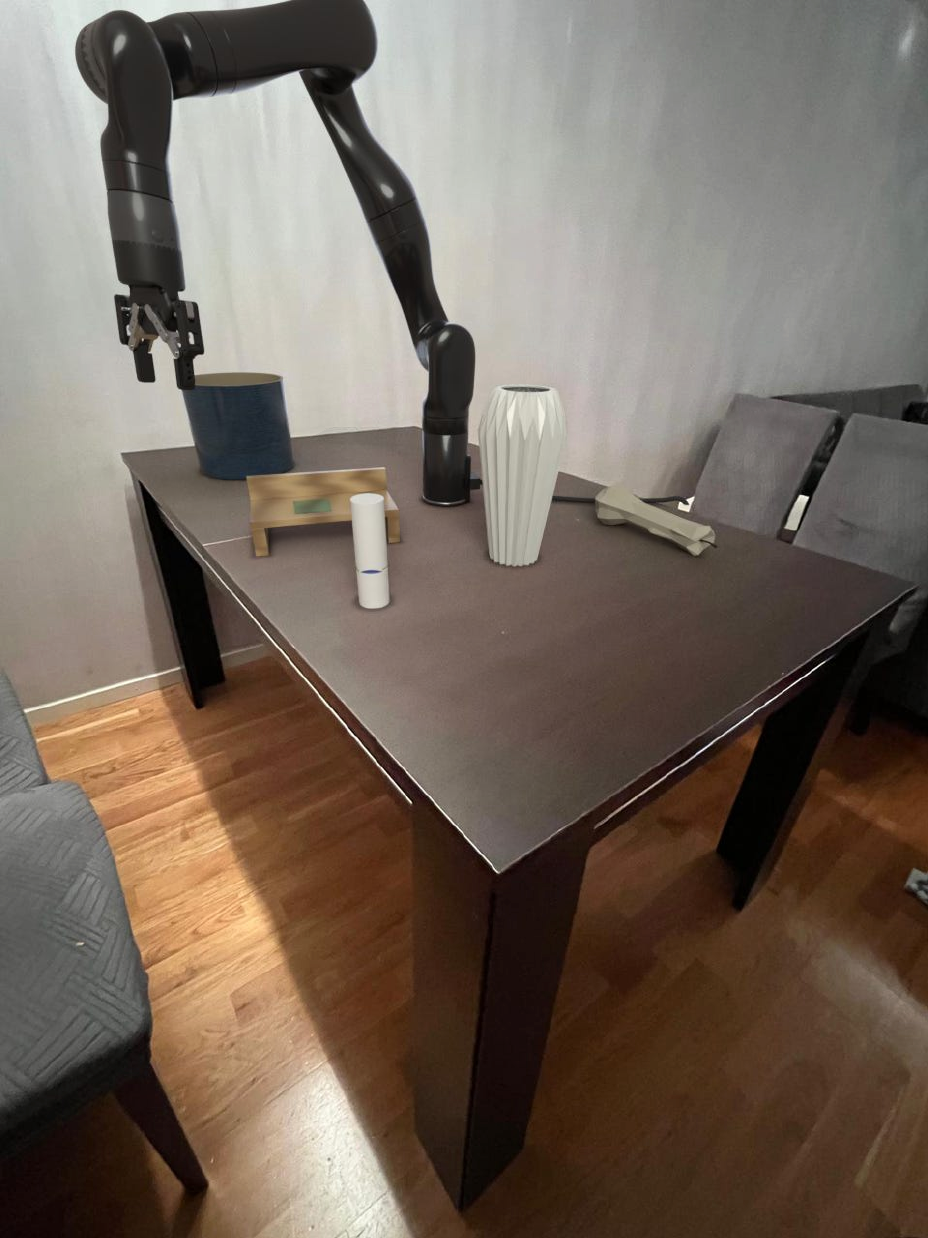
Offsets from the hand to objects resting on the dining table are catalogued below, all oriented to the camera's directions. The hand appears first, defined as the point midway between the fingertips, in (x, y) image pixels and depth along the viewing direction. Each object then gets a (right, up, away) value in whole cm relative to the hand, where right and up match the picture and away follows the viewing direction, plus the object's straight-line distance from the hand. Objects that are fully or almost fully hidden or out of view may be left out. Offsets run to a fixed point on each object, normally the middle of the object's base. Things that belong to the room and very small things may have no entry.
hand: (166, 385), depth 74 cm
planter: (-12, +5, +60) cm, 61 cm away
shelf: (+16, -17, +23) cm, 33 cm away
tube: (+28, -29, +3) cm, 41 cm away
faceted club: (+74, -17, +26) cm, 80 cm away
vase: (+49, -21, +18) cm, 56 cm away
